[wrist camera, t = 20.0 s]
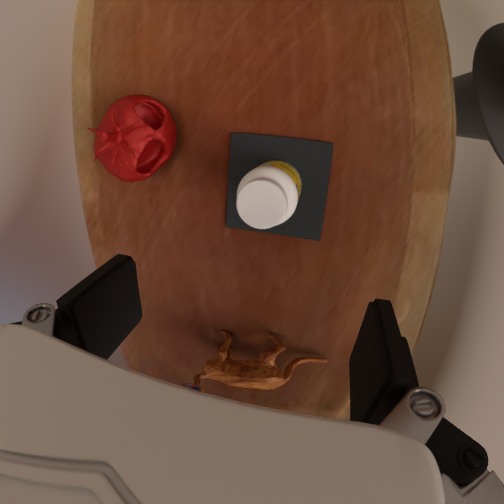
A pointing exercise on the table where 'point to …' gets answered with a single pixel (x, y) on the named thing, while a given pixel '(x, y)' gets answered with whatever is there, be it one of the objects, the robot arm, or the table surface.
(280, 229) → the rubber mat
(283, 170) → the supplement bottle
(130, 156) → the pomegranate
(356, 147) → the table surface
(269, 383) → the cat figurine
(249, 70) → the table surface
